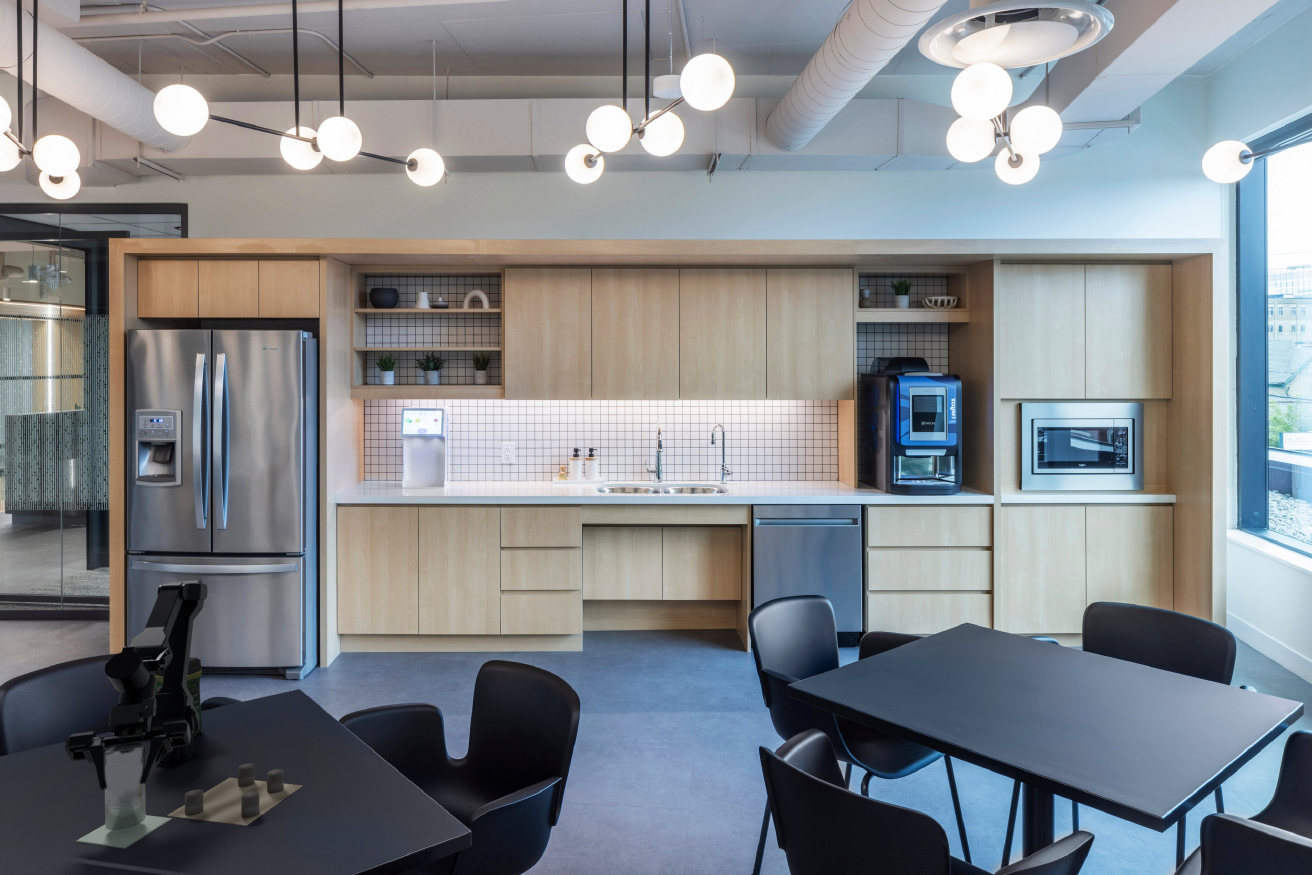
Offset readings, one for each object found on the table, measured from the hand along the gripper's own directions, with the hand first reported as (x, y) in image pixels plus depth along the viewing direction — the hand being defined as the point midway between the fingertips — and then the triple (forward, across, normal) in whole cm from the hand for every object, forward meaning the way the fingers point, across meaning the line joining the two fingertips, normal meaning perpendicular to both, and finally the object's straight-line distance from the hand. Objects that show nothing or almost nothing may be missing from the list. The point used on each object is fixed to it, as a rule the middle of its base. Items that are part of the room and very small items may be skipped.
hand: (123, 786), depth 139 cm
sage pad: (+6, 0, +7) cm, 9 cm away
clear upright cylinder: (+4, 0, +6) cm, 7 cm away
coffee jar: (-28, +2, +41) cm, 50 cm away
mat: (+2, +17, +11) cm, 21 cm away
